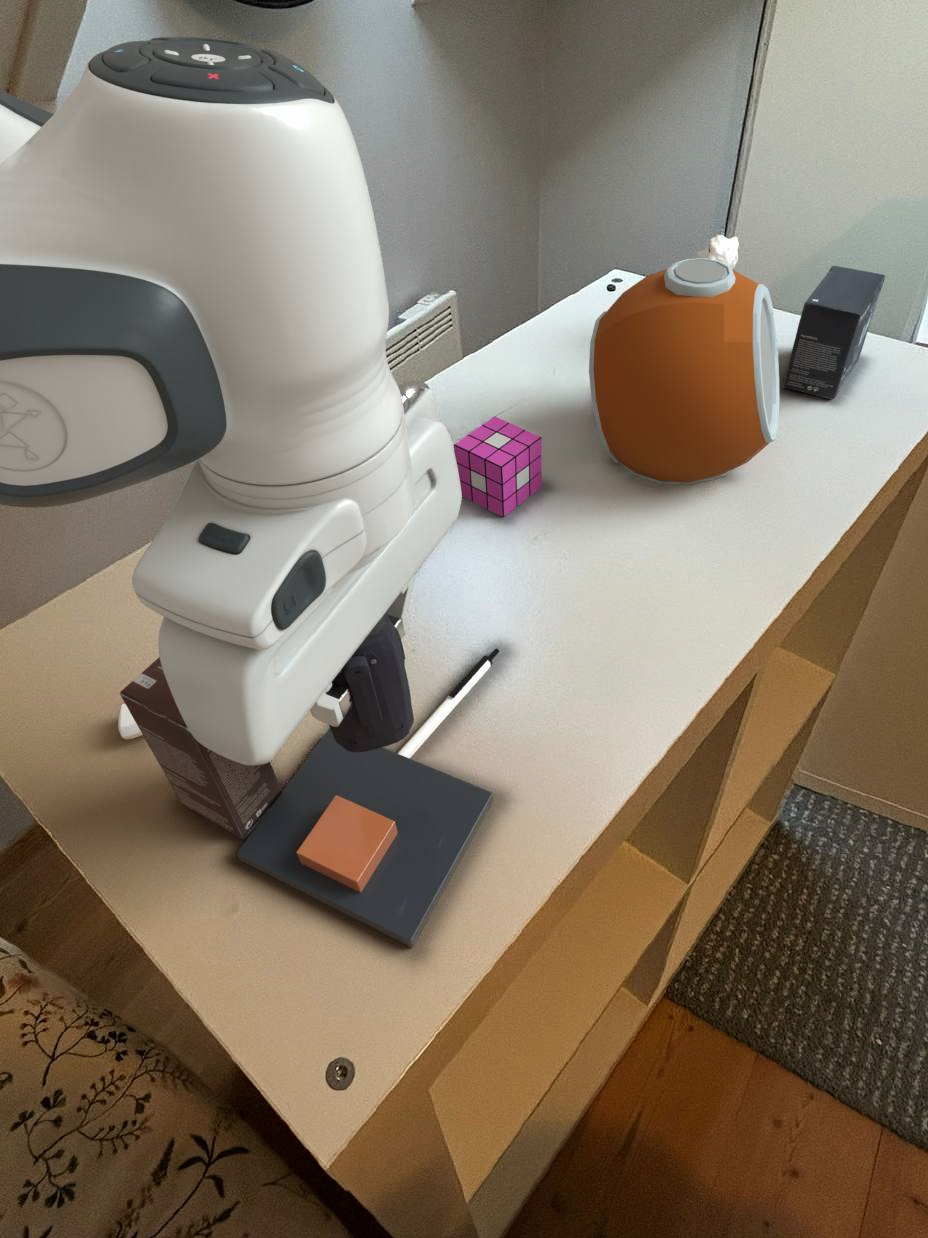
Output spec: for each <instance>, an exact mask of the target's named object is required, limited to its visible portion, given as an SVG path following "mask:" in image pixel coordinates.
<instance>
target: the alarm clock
mask: <svg viewBox="0 0 928 1238" xmlns="http://www.w3.org/2000/svg"><path fill="white" fill-rule="evenodd" d="M775 321H776V320H775V314H774V307H773V303H772V298H771V294H770V289H768V288H767V286H766V285H765V284H763V283H758V282H756V281H754V280H753V279H750V278H749V277H747V276H745V275H744V274H741V273H739V272H738V271H736V270H734V269H733V270H732V268H731V267H730V266H728V265H726V264H724V263H723V262H721V261H717V260H711V259H706V258H698V257H695V258H686V259H683V260H679V261H676V262H673V263H672V264H671V265H670V266H669V267H668V268H665V269H662V270H660V271H657V272H655V273H651V274H649V275H646V276H645V277H644V278H642V279H641V280H639V281H638V282H636V283H635V284H633V285H632V286H630V287H629V288H628V289H627V290H624V291H623V292H622V293H621V294H620V295H619V297H618V298H617V299H616V300H615V301H614V302H613V304H611V306H610V307H609V308H608V309H607V310H605V311H602V313H601V314H600V315H599V316H598V317H597V318H596V319H595V322H594V326H593V330H592V334H591V339H590V343H589V362H588V376H589V378H588V379H589V387H590V401H591V405H592V411H593V416H594V421H595V426H596V429H597V433H598V434H599V438H600V441H601V442H602V446H603V448H604V450H605V452H606V454H607V455H608V456H609V457H610V458H611V460H612V461H613V462H614V464H620V465H621V466H623V467H624V468H625V469H627V470H628V471H629V472H631V473H632V474H633V475H635V476H636V477H640V478H643V479H646V480H648V481H651V482H655V483H658V484H663V485H665V484H666V485H693V484H699V483H702V482H706V481H711V480H716V479H720V478H724V477H726V475H727V474H728V473H729V472H731V471H732V470H734V469H737V468H739V467H742V466H743V465H744V464H747V463H749V462H750V461H751V460H752V459H754V457H755V456H757V455H758V454H759V453H760V452H762V450H763V449H765V448H766V447H767V446H768V445H769V444H771V443H772V442H774V441H775V440H776V439H777V433H778V430H779V421H780V420H779V419H780V418H779V417H780V369H779V368H780V367H779V351H778V349H779V348H778V340H777V338H778V337H777V329H776V322H775Z"/></svg>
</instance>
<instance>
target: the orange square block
mask: <svg viewBox="0 0 928 1238" xmlns="http://www.w3.org/2000/svg"><path fill="white" fill-rule="evenodd" d="M397 834H398V831H397V827H396V823H395V821H393V820H391V819H388V818H386V817H384V816H382V815H380V814H377V813H375V812H373V811H371V810H368V809H366V808H364V807H362V806H359V805H357V804H355V803H353V802H351V801H348V800H346V799H344V798H342V797H339V796H337V795H336V796H335V797H334V799H333V800H332V802H331V803H330V804H329V806H328V807H327V809H326V810H325V812H324V813H323V815H322V816H321V817H320V819H319V820H318V822H317V823H316V825H315V826H314V828H313V829H312V830H311V832H310V833H309V835H308V836H307V838H306V839H305V841H304V842H303V843H302V845H301V846H300V848H299V849H298V851H297V852H296V853H297V855H298V857H299V860H300V862H301V864H303V865H305V866H307V867H309V868H311V869H313V870H315V871H317V872H319V873H321V874H323V875H325V876H327V877H329V878H332V879H334V880H336V881H338V882H340V883H342V884H344V885H346V886H348V887H350V888H352V889H354V890H356V891H358V892H360V893H361V892H362V890H363V889H364V887H365V885H366V884H367V882H368V881H369V879H370V877H371V876H372V874H373V872H374V871H375V869H376V868H377V866H378V864H379V863H380V861H381V859H382V858H383V856H384V855H385V853H386V851H387V850H388V848H389V846H390V845H391V843H392V842H393V840H394V838H395V837H396V835H397Z"/></svg>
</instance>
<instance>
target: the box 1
mask: <svg viewBox="0 0 928 1238" xmlns="http://www.w3.org/2000/svg"><path fill="white" fill-rule="evenodd" d="M119 694H120V695H119V696H120V697H121V699H122V700H123V703H124V704H126V706H127V708H128V709H129V711H130V713H131V715H132V717H133V718H134V720H135V722H136V724H137V725H138V727H139V729H140V731H141V732H142V734H143V735H142V736H143V738H144V739H145V742H146V743H147V745H148V747H149V749H150V750H151V753H152V754H153V756H154V757H155V759H156V761H157V762H158V765H159V766H160V768H161V770H162V771H163V773H164V776H165V777H166V778H167V780H168V782H169V784H170V785H171V788H172V789H173V791H174V793H175V794H176V796H177V798H178V799H179V801H180V803H181V804H182V805H184V806H185V807H187V808H188V809H190V810H191V811H193V812H195V813H196V814H198V815H200V816H201V817H203V818H205V819H207V820H208V821H210V822H212V823H213V824H215V825H216V826H219V827H220V828H222V829H224V830H225V831H227V832H228V833H230V834H232V835H234V836H236V837H237V838H239V839H241V840H244V839H245V838H247V837H248V836H249V835H250V834H251V833H252V832H253V830H254V829H255V828H256V826H257V825H258V824H259V822H260V821H261V820H262V818H263V817H264V816H265V814H266V813H267V812H268V810H269V809H270V808H271V806H272V805H273V803H274V802H275V801H276V799H277V798H278V797H279V795H280V794H281V793H282V791H283V790H282V787H281V785H280V783H279V780H278V778H277V776H276V773H275V770H274V767H273V766H272V764H271V761H270V762H268V763H266V764H263V765H244V764H241V763H238V762H235V761H233V760H230V759H228V758H226V757H223V756H221V755H219V754H217V753H215V752H213V751H212V750H210V749H208V748H206V747H205V746H203V745H202V744H200V743H199V742H198V741H197V740H196V739H195V738H194V737H193V735H192V734H191V732H190V731H189V729H188V727H187V725H186V723H185V722H184V720H183V717H182V715H181V713H180V711H179V709H178V707H177V705H176V702H175V700H174V698H173V695H172V693H171V690H170V688H169V686H168V683H167V680H166V677H165V674H164V671H163V668H162V665H161V661H160V656H158V658H156V659H155V660H154V661H153V662H151V664H150V665H148V666H147V667H146V668H145V669H144V670H143V671H142V672H140V674H138V675H137V677H135V678H134V679H133V680H132V681H131V682H129V684H127V686H125V687H123V689H121V691H120V692H119Z"/></svg>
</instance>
